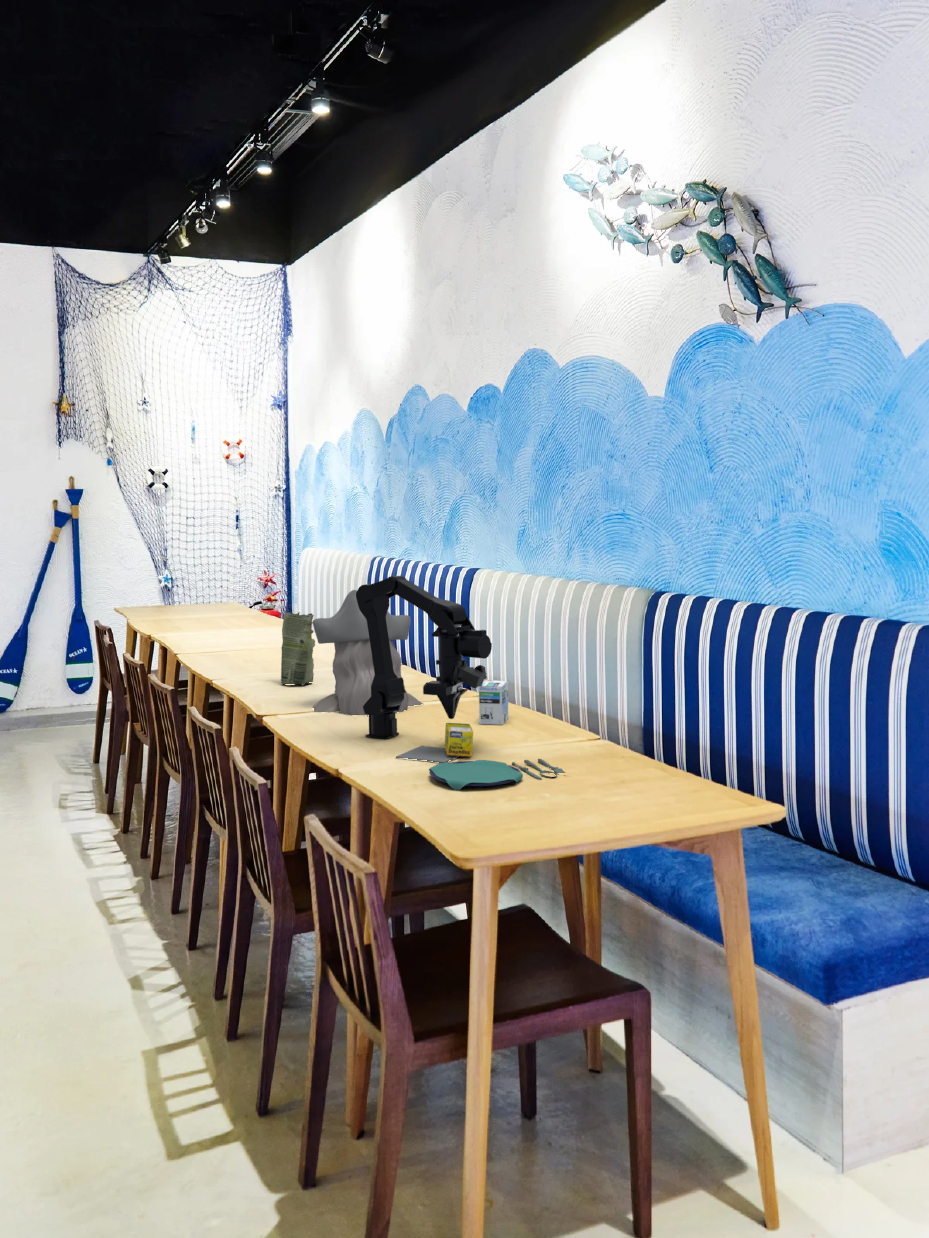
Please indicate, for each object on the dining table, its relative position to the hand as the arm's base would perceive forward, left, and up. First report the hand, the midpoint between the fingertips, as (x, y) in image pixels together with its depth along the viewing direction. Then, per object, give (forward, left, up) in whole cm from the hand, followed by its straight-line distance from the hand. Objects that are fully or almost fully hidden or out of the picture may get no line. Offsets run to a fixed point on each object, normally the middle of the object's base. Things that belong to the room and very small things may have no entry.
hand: (451, 718), depth 252 cm
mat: (0, -10, -7) cm, 12 cm away
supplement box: (+2, -1, -4) cm, 4 cm away
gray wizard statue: (-49, +39, -7) cm, 63 cm away
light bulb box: (-4, +34, -7) cm, 35 cm away
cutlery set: (+22, -22, -8) cm, 32 cm away
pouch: (-91, +64, -7) cm, 111 cm away
